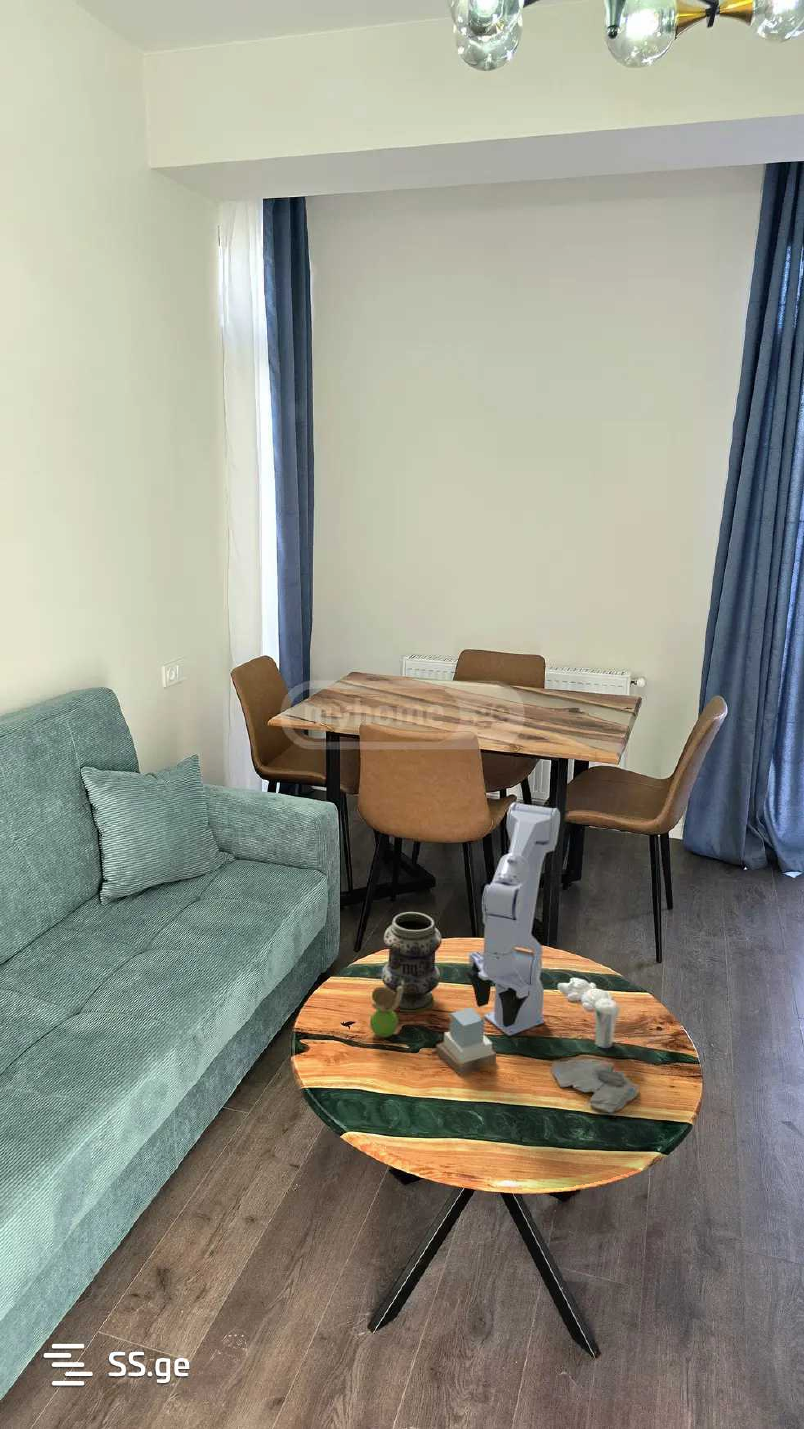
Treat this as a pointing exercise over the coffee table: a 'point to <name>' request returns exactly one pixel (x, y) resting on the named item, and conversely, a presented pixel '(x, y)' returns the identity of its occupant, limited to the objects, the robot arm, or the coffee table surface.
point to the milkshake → (605, 1021)
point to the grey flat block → (463, 1067)
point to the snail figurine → (385, 1010)
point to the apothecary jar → (412, 960)
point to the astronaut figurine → (583, 992)
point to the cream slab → (468, 1049)
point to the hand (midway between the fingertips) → (495, 1014)
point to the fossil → (596, 1082)
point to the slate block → (467, 1027)
